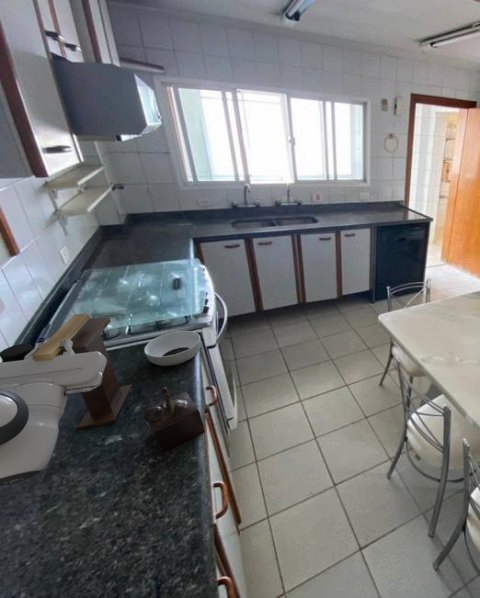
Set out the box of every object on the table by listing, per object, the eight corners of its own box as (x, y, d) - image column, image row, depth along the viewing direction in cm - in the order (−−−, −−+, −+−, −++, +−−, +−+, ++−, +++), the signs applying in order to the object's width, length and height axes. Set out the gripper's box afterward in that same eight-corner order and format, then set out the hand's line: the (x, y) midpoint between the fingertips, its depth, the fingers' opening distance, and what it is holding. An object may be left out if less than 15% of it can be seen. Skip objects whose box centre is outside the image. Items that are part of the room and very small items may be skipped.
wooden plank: (34, 361, 72) (32, 355, 71) (76, 319, 88) (74, 314, 88) (52, 359, 73) (50, 353, 72) (90, 318, 90) (88, 313, 89)
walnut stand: (79, 431, 89) (42, 351, 78) (102, 393, 103) (73, 320, 92) (115, 424, 92) (85, 346, 81) (133, 388, 105) (109, 316, 95)
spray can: (59, 394, 100) (28, 339, 92) (68, 403, 97) (37, 347, 88) (29, 407, 95) (-7, 351, 86) (37, 417, 92) (1, 360, 83)
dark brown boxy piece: (150, 435, 90) (127, 384, 82) (194, 414, 97) (178, 365, 89) (166, 472, 80) (143, 419, 72) (214, 445, 87) (198, 394, 79)
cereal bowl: (149, 379, 110) (143, 362, 107) (150, 353, 123) (144, 338, 119) (206, 363, 119) (202, 347, 116) (202, 341, 131) (197, 325, 128)
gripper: (92, 384, 71) (104, 330, 78) (-41, 404, 63) (-15, 341, 71) (106, 394, 76) (115, 342, 83) (-17, 414, 68) (5, 354, 75)
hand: (55, 342), depth 77 cm, fingers closed on wooden plank, 3 cm apart
